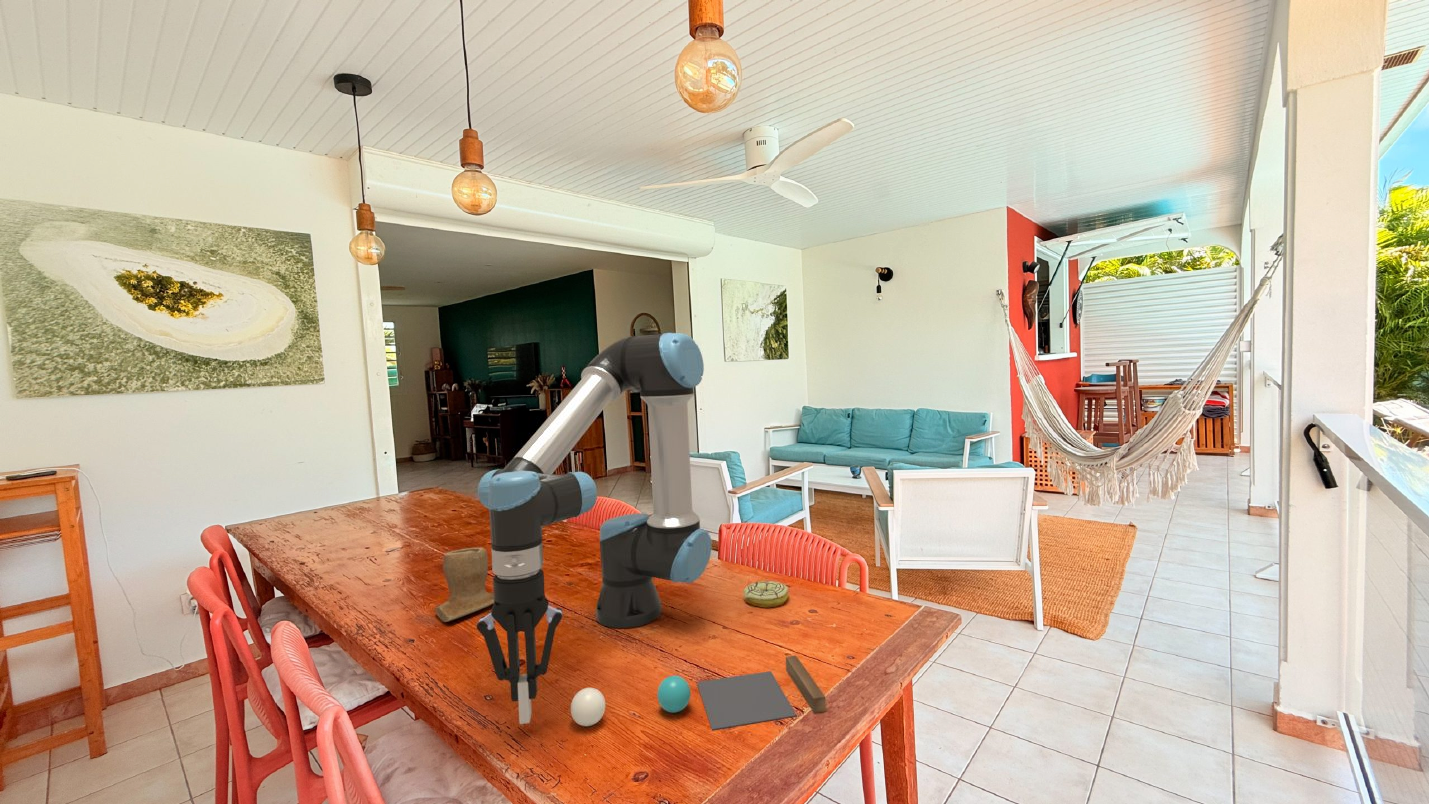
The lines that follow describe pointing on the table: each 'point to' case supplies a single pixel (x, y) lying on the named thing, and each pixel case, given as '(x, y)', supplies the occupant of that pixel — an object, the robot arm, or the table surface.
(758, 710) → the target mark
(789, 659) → the rail
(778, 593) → the decorated donut
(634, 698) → the table surface
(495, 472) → the robot arm
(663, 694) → the teal ball
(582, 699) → the cue ball
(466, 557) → the tan flanged block
